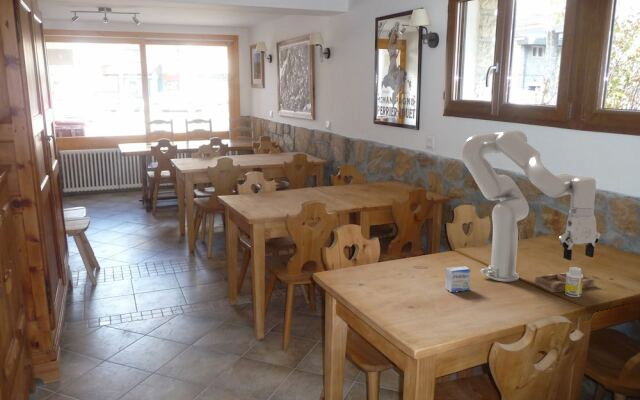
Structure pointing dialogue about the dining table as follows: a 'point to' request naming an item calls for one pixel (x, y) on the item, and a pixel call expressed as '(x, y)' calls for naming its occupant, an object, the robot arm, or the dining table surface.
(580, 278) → the supplement bottle
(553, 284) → the divided well tray
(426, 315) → the dining table surface
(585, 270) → the dining table surface
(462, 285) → the medicine box
